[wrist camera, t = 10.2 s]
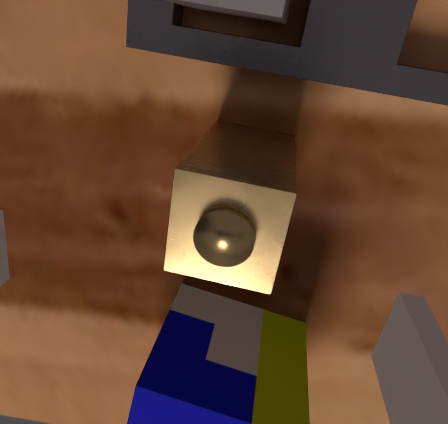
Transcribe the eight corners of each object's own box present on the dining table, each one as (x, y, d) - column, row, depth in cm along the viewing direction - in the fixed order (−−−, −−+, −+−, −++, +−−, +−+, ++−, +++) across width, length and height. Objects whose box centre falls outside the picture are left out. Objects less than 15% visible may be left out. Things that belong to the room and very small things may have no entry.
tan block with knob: (206, 192, 27) (160, 276, 18) (217, 120, 25) (171, 172, 16) (278, 207, 27) (269, 301, 17) (295, 135, 25) (296, 198, 15)
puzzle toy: (181, 282, 31) (135, 385, 22) (305, 322, 30) (310, 443, 21) (158, 371, 35) (112, 487, 26) (266, 406, 35) (256, 536, 26)
